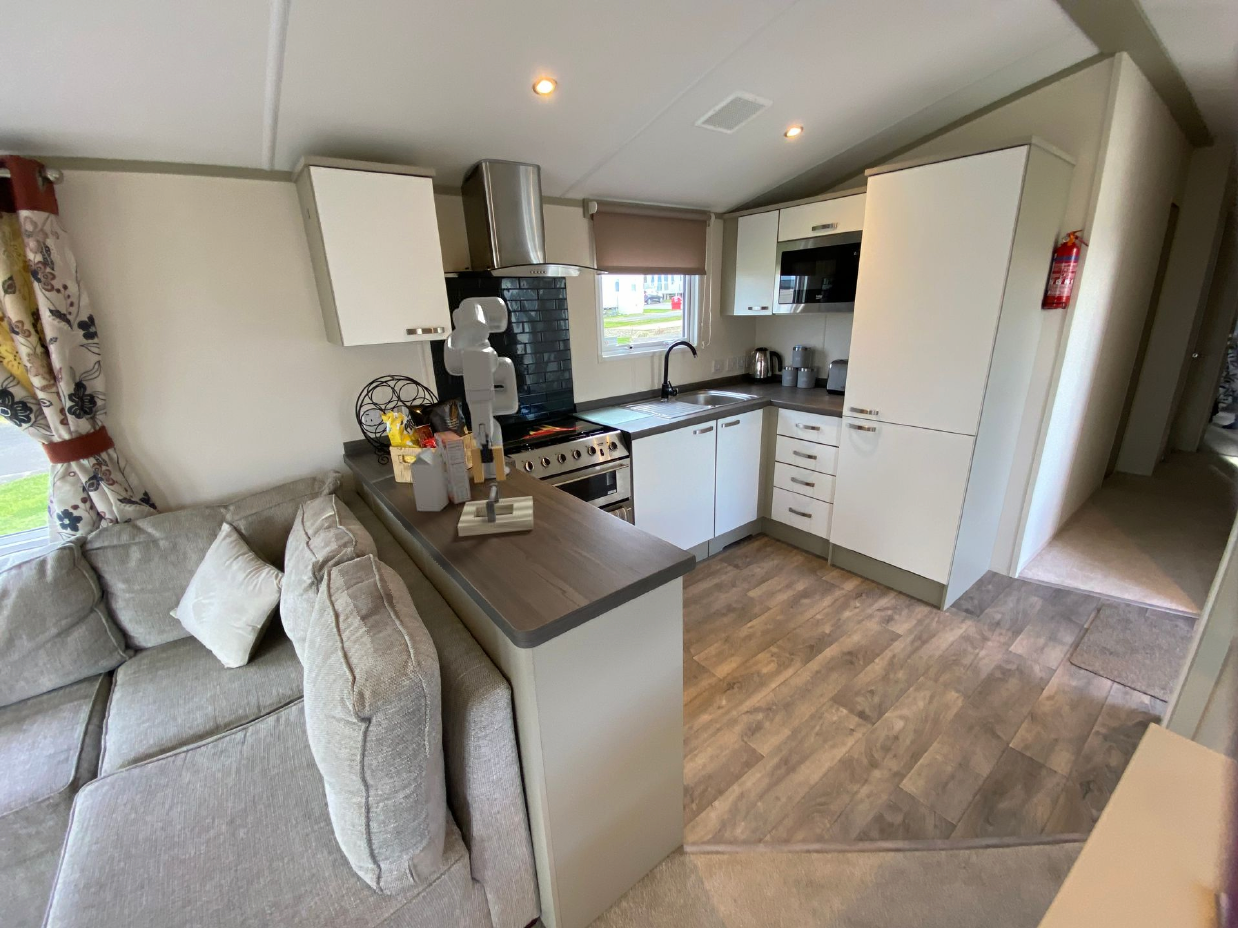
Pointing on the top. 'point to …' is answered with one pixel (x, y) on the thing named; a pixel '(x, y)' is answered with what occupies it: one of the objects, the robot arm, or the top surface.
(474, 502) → the square frame with handle
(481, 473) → the tan wooden block
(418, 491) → the milk carton
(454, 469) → the cracker box
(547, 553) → the top surface
